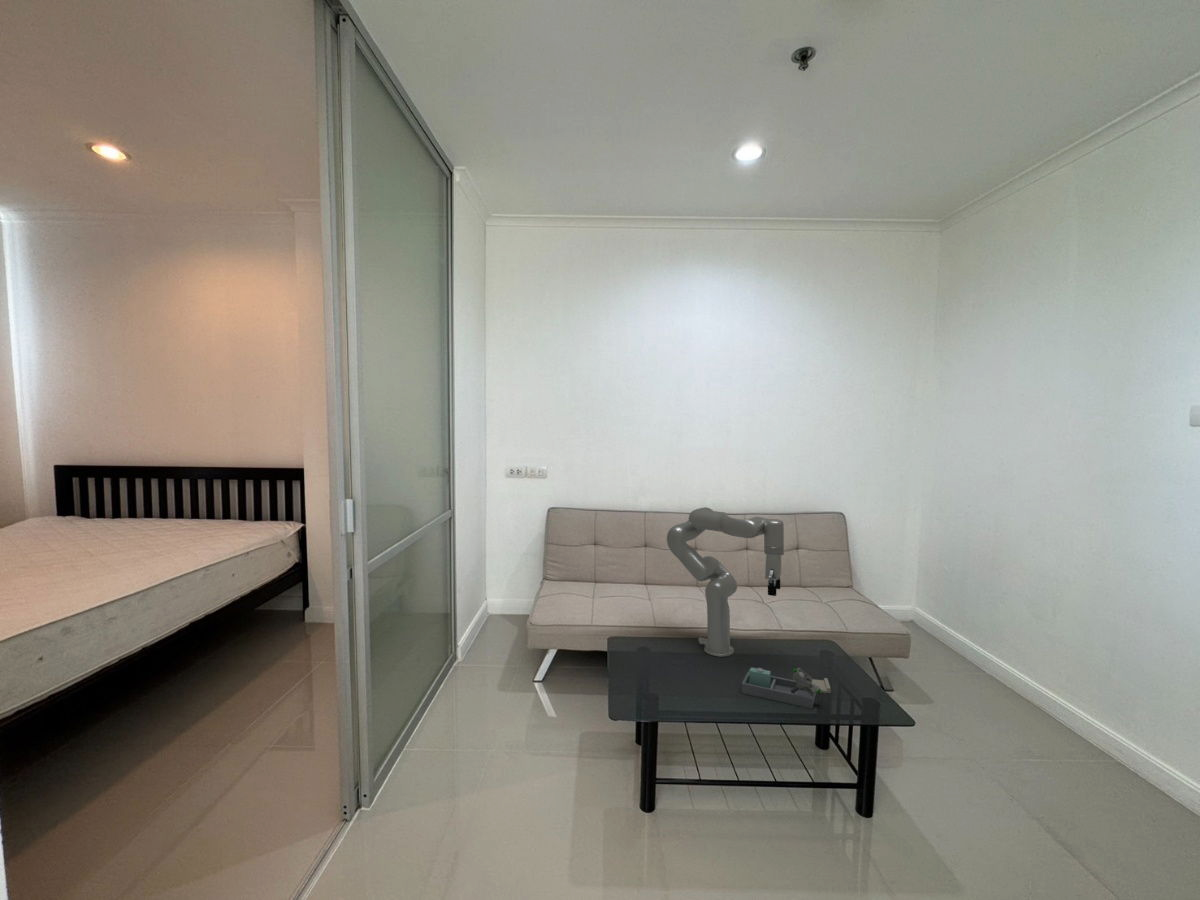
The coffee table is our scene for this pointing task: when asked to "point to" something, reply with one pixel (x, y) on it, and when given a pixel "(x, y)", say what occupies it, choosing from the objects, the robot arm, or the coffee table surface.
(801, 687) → the mechanical component
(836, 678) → the coffee table surface
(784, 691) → the housing
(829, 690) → the lid plate
